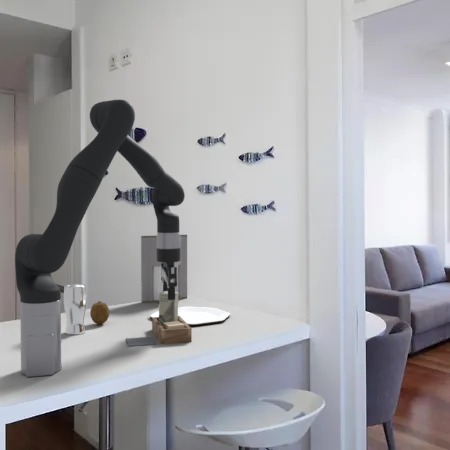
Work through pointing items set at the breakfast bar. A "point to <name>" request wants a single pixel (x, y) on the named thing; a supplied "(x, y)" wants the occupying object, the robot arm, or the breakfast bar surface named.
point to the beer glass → (75, 308)
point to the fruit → (99, 313)
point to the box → (167, 308)
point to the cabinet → (152, 270)
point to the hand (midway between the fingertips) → (168, 297)
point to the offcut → (173, 325)
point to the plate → (199, 315)
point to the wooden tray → (172, 332)
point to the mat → (140, 341)
